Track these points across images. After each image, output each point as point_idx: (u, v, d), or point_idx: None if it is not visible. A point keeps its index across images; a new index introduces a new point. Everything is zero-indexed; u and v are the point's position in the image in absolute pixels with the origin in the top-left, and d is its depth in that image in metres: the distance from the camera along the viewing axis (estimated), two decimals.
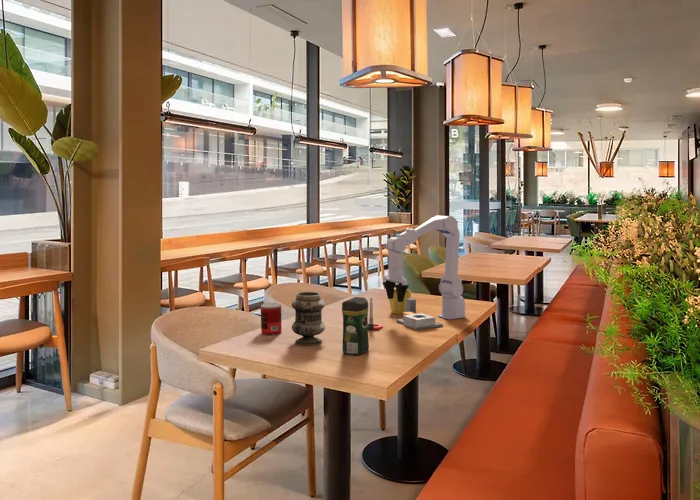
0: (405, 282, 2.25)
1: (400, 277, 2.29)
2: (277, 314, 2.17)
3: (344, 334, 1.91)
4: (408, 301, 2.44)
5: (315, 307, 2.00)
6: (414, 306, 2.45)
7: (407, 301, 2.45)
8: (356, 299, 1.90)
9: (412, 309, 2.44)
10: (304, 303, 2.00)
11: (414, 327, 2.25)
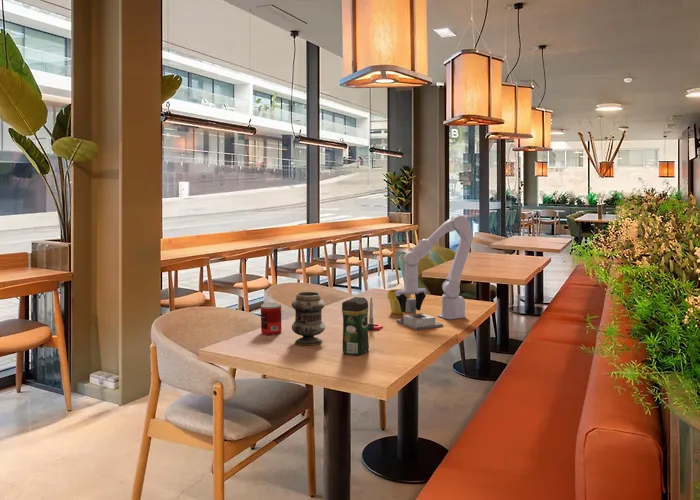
0: (396, 293, 2.42)
1: (406, 289, 2.43)
2: (277, 314, 2.17)
3: (344, 334, 1.91)
4: (408, 301, 2.44)
5: (315, 307, 2.00)
6: (414, 306, 2.45)
7: (407, 301, 2.45)
8: (356, 299, 1.90)
9: (412, 309, 2.44)
10: (304, 303, 2.00)
11: (414, 327, 2.25)
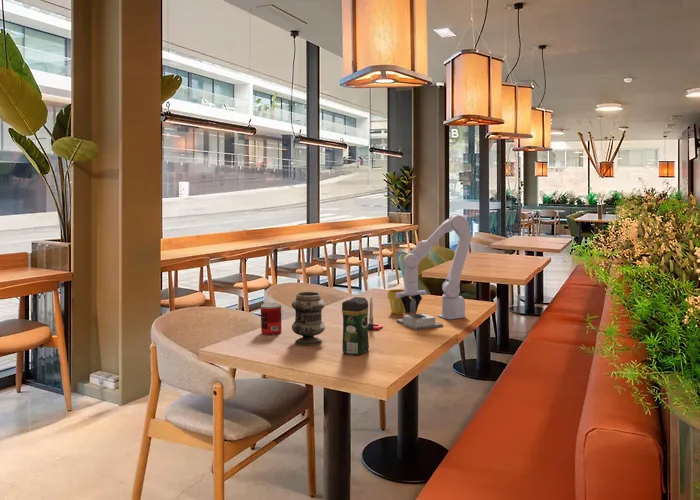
0: (396, 295, 2.42)
1: (406, 291, 2.43)
2: (277, 314, 2.17)
3: (344, 334, 1.91)
4: None
5: (315, 307, 2.00)
6: (414, 306, 2.45)
7: None
8: (356, 299, 1.90)
9: (412, 309, 2.44)
10: (304, 303, 2.00)
11: (414, 327, 2.25)
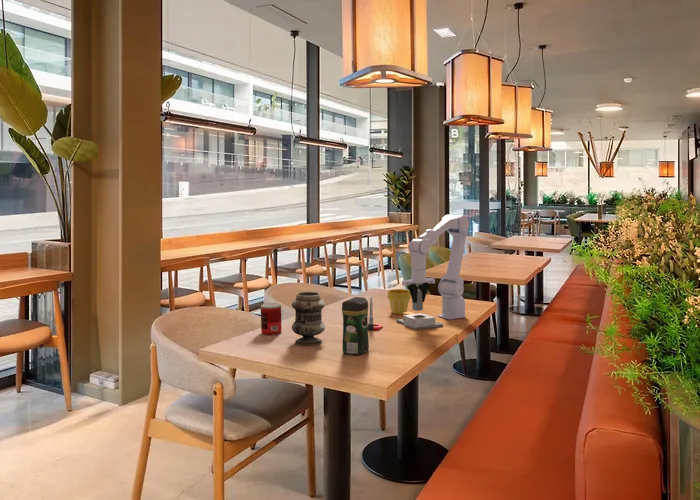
0: (403, 283, 2.27)
1: (413, 279, 2.28)
2: (277, 314, 2.17)
3: (344, 334, 1.91)
4: None
5: (315, 307, 2.00)
6: (421, 298, 2.30)
7: None
8: (356, 299, 1.90)
9: (419, 300, 2.30)
10: (304, 303, 2.00)
11: (414, 327, 2.25)
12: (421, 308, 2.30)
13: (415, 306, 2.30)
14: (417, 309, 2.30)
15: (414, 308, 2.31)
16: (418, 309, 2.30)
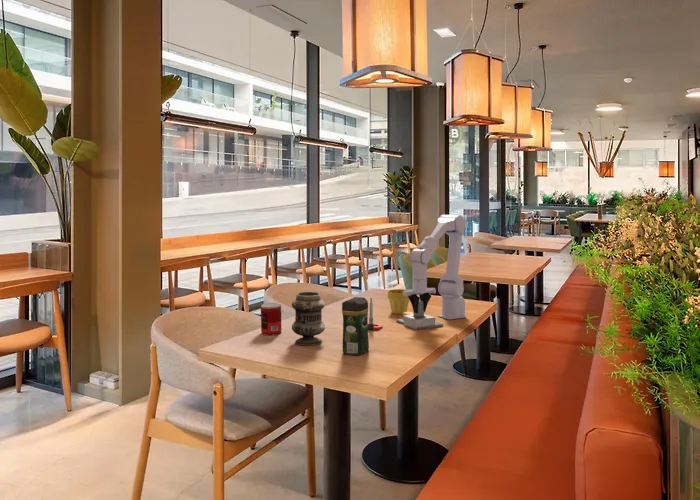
0: (404, 293, 2.25)
1: (414, 289, 2.27)
2: (277, 314, 2.17)
3: (344, 334, 1.91)
4: None
5: (315, 307, 2.00)
6: (422, 308, 2.29)
7: None
8: (356, 299, 1.90)
9: (420, 311, 2.29)
10: (304, 303, 2.00)
11: (414, 327, 2.25)
12: None
13: (416, 317, 2.29)
14: None
15: None
16: None
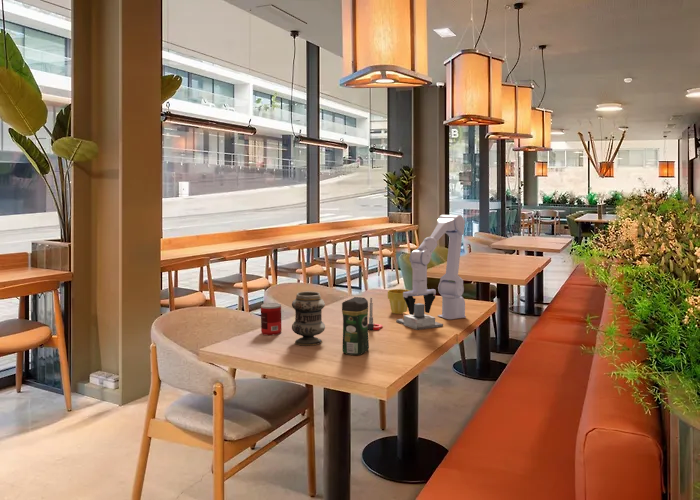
0: (404, 295, 2.25)
1: (414, 290, 2.27)
2: (277, 314, 2.17)
3: (344, 334, 1.91)
4: (416, 306, 2.29)
5: (315, 307, 2.00)
6: (422, 311, 2.29)
7: (415, 306, 2.29)
8: (356, 299, 1.90)
9: (421, 314, 2.28)
10: (304, 303, 2.00)
11: (414, 327, 2.25)
12: None
13: None
14: None
15: None
16: None
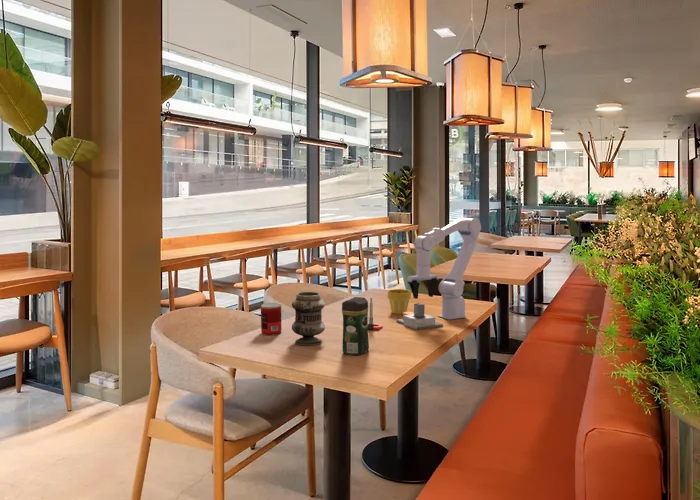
0: (408, 279, 2.33)
1: (418, 275, 2.34)
2: (277, 314, 2.17)
3: (344, 334, 1.91)
4: (416, 306, 2.29)
5: (315, 307, 2.00)
6: (422, 311, 2.29)
7: (415, 306, 2.29)
8: (356, 299, 1.90)
9: (421, 314, 2.28)
10: (304, 303, 2.00)
11: (414, 327, 2.25)
12: None
13: None
14: None
15: None
16: None
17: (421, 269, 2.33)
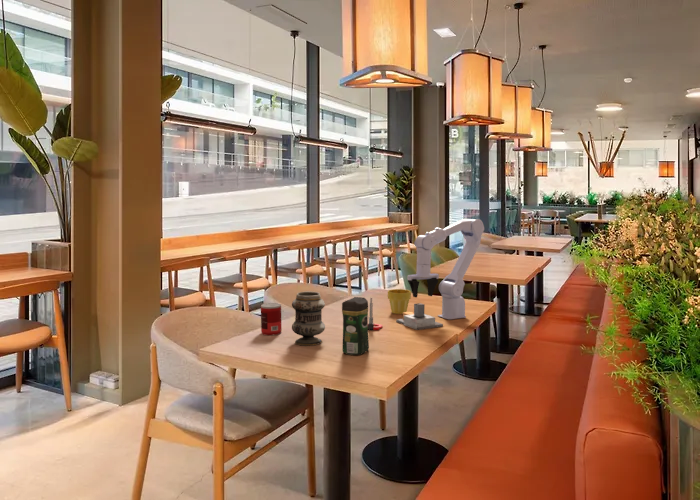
0: (408, 277, 2.34)
1: (418, 274, 2.35)
2: (277, 314, 2.17)
3: (344, 334, 1.91)
4: (416, 306, 2.29)
5: (315, 307, 2.00)
6: (422, 311, 2.29)
7: (415, 306, 2.29)
8: (356, 299, 1.90)
9: (421, 314, 2.28)
10: (304, 303, 2.00)
11: (414, 327, 2.25)
12: None
13: None
14: None
15: None
16: None
17: (421, 268, 2.34)
